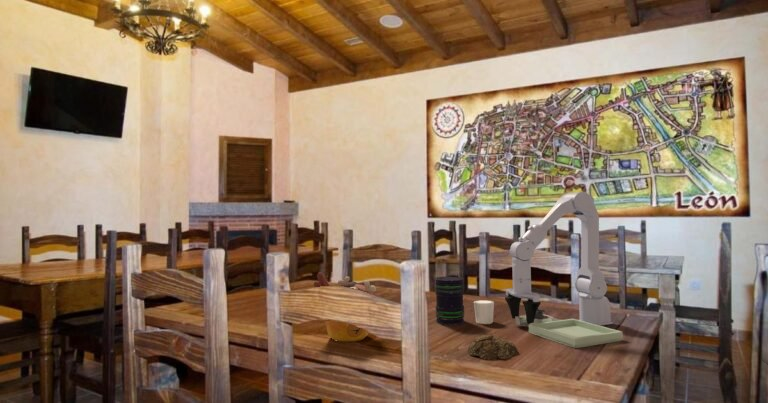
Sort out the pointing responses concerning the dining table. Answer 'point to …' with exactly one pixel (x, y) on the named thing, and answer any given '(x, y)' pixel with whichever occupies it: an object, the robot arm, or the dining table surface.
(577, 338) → the tray
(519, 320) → the ring
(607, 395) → the dining table surface
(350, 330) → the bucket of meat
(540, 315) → the base
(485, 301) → the shot glass
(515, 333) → the dining table surface
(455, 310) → the storage jar
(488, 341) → the brown lumpy mound
